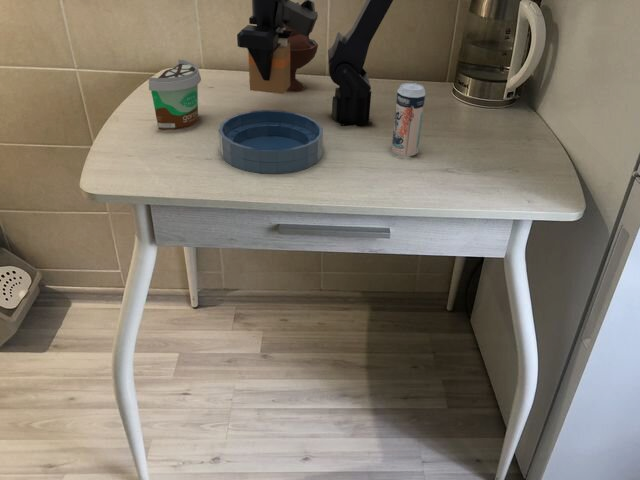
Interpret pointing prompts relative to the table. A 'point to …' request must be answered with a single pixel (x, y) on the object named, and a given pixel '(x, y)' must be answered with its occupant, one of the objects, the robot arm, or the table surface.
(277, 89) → the carton
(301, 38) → the ice cream bowl
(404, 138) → the beer can
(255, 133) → the bowl
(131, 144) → the table surface
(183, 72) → the food container
